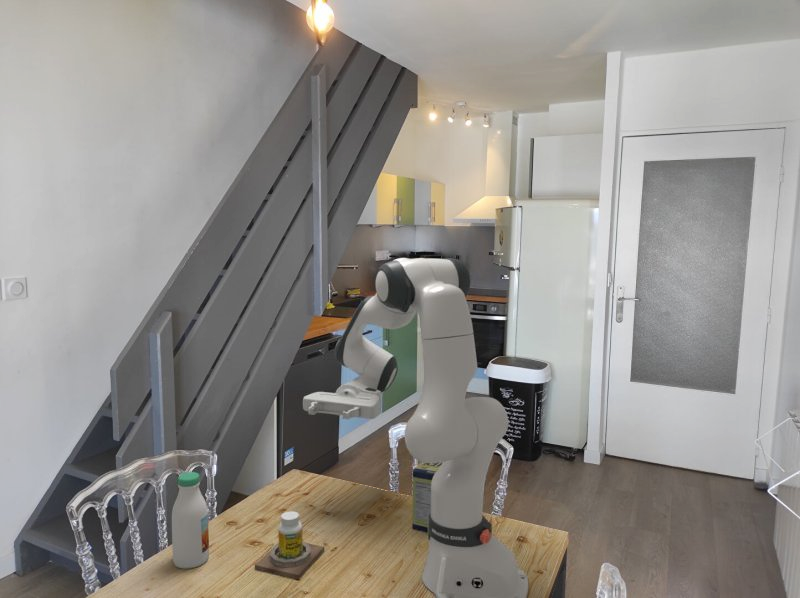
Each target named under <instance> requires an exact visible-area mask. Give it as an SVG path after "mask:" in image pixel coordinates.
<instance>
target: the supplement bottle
mask: <svg viewBox="0 0 800 598" xmlns="http://www.w3.org/2000/svg"><path fill="white" fill-rule="evenodd" d="M280 522H281V523H280V524H279V525H278V528H277V531H278V543H279V557H280V558H282V559H295V558H298V557H300V556H302V554H303V525H302V523H301V521H300V513H298V512H296V511H293V510H292V511H286V512H284V513H282V514H281V516H280Z"/></svg>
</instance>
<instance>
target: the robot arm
mask: <svg viewBox="0 0 800 598" xmlns="http://www.w3.org/2000/svg"><path fill="white" fill-rule="evenodd" d="M470 288H471V275H470V271H469V268H468V267H467V266H466V264H465V263H464V262H463V261H462V260H460V259H457V258H451V257H445V258H429V257H428V258H424V257H419V258H417V257H416V258H408V257H399V258H396V259H393V260H391V261H388V262H385V263H383V264H381V265H380V267H378V270H377V271H376V273H375V292H376V293H375V294H374V295H368V296H366V297H365V298H364V299H363V300H362V301H361V302H360V303H359V304H358V306H357V308H356V309H355V311H354V313H353V315H352V316H351V318H350V320H349V322H348V324H347V326H346V327H345V330H344V332H343V334H342V336H341V337H340V338H339V339H338V341H337V342H336V345H335V347H334V350H333V354H334V358H335V360H336V363H337V364H339V365H341V366H343V367H345V368H347V369H348V370H351V371H352V372H353V373H356V374H357V375H358V376H356V377H355V378H353V379H352V380H349V381H347V382H346V383H344V384H342V385H340V386H339V387H338V388H337V389H336V391H335V392H325V391H316V392H311V393H310V394H307V395H304V396H303V399H302V409H303V410H304V411H305V412H307V413H308V415H313V416H315V415H317V414H318V413H319V414H321V413H322V414H328V415H335V416H342V419H345V420H351V419H352V418H357V419H358V418H360V419H368V420H372V419H376V418H377V417H379V415H381V413H382V412H381V411H382V401H383V400H382V395H383V394H384V392H385V391H387V390H388V389H389V388H390V387H391V385H392V384H393V382H394V381H395V378H396V376H397V374H398V371H399V370H398V369H399V368H398V361H397V358H396V356H394V355H393V354H391V353H390V352H389V351H387V350H385V349H384V348H382V347H381V346H379V345H377V344H376V343H373V341H370V340H369V339H368V338H366V336H364V335H363V332H364V330H365V329H366V327H367V326H368V325H371V326H377V327H380V328H381V329H385V330H386V329H387V330H397V329H400V328H403V327H405V326H407V325H408V324H410V323H411V322H412V320H413V319H414V318H415V315H416V314H418V316H419V322H420V324H419V325H420V326H419V327H420V337H421V338H420V339H421V347H422V358H423V369H424V370H423V372H424V373H423V375H424V379H423V386H422V391H421V395H420V399H419V402H418V404H417V406H416V409H415V411H414V412H413V414H412V415H411V417H410V418H409V419H408V421H407V422H406V425H405V429H404V442H405V446H406V448H407V451H408V452H409V454H410V455H411V456H412V457H413V458H414V459H415V460H416V461H418V462H419V463H421V462H422V463H438V462H443V463H442V465H441V466H440V468H439V469H438V470H437V471H436V473H435V474H434V476H433V478H432V482H431V513H430V514H429V518H428V532H427V535H428V536H427V537H428V539H427V540H428V549H427V556H426V560H425V564H424V568H423V571H422V573H421V574H422V575H421V579H422V582H423V584H424V586H425V587H426V588H427V589H428V590H429V591H431V592H432V593H433V594H434V595H435V598H527V597H528V594H529V580H528V579H529V578H528V575H527V574H526V572H525V571H524V570H522V569H520V568H518V563H517V559H516V556H515V554H514V552H513V550H511V549H510V548H509V547H508V546H507V545H505V544H504V543H503V542H502V541H500V540H499V539H498V538H497V537H496V536H494V535H493V518H492V517H491V518H490V519H489V521H488V519H487V518H486V517H485V516H484V514H483V513H484V512H483V510H484V509H483V508H484V491H485V490H484V489H485V483H486V478H487V473H488V470H489V467H490V464H491V461H492V458H493V455H494V453H495V451H496V448H497V446H498V445H499V443H500V441H501V440H502V438H503V437H504V436H505V435H506V433H507V431H508V428H509V418H508V414H507V411H506V409H505V407H504V405H502V403H501V402H500V401H499V400H498V399H495V398H494V397H490V396H472V397H468V398H466V394H467V390H468V388H469V385H470V382H472V380H473V379H474V377H475V376H476V374H477V371H478V361H477V352H476V342H475V336H474V327H473V322H472V321H473V320H472V317H471V311H470V308H469V305H468V301H467V296H468V293H469V291H470Z"/></svg>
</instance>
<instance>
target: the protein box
mask: <svg viewBox="0 0 800 598" xmlns="http://www.w3.org/2000/svg"><path fill="white" fill-rule="evenodd" d="M442 463H443V462H438V463H422V462H419V464H418V465H416V467H415V468H414V469H413V470H412V507H411V508H412V511H411V512H412V513H411V514H412V518H411V519H412V520H411V523H412V526H411V528H412V530H416V531H419V532H425V533H428V518H429V514H430V513H431V482H432V478H433V476H434V474H435V473H436V471H437V470H438V469H439V468H440V466H441V465H442Z"/></svg>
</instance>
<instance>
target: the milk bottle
mask: <svg viewBox="0 0 800 598" xmlns="http://www.w3.org/2000/svg"><path fill="white" fill-rule="evenodd" d="M200 480H201V479H200V474H199V473H198V472H195V471H187V472H184V473H181V474H179V475H178V477H177V487H178V493H177V497H176V499H175V502H174V504H173V506H172V511H171V542H172V544H171V545H172V560H173V561H172V562H173V564H174V566H175V567H176V568H179V569H183V570H184V569H186V570H187V569H194V568H197V567H199V566H201V565H204V564H205V563H206V562H207V561H208V560H209V556H210V543H209V542H210V540H209V514H208V513H209V511H208V506H207V502H206V500H205V498H204V496H203V495H202V493H201V490H200V485H201V484H200Z"/></svg>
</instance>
